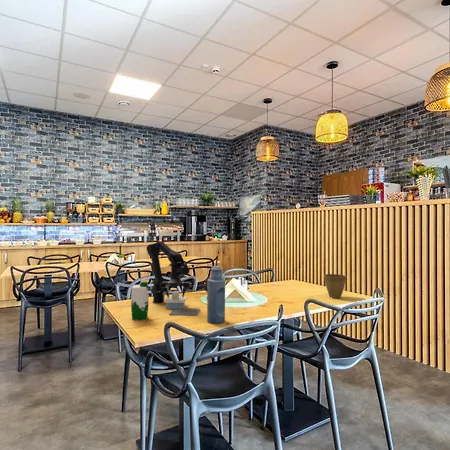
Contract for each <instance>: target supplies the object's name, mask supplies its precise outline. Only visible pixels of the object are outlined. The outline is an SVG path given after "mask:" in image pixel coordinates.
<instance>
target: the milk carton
mask: <svg viewBox="0 0 450 450" xmlns="http://www.w3.org/2000/svg"><path fill="white" fill-rule="evenodd" d="M130 301H131V302H130V303H131V305H130V307H131V308H130V309H131V311H130V312H131V320H132V321H146V319H147V318H148V312H149V285H148V281H141V282H140V283H139V284H134V285H133V286H132V287H131V298H130Z"/></svg>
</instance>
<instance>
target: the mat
mask: <svg viewBox="0 0 450 450" xmlns="http://www.w3.org/2000/svg"><path fill="white" fill-rule="evenodd" d="M199 312H200V308H198V309H197V308H195V309H193V308H180V309H171V311H170V312H169V316H188V317H189V316H193V317H197V316H198V313H199Z"/></svg>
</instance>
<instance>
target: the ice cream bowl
mask: <svg viewBox="0 0 450 450" xmlns="http://www.w3.org/2000/svg"><path fill="white" fill-rule="evenodd" d="M210 278H211V276H209V277H206V278H204V284H202V288H203V290H204V291H205V292H206V293H207V280H208V279H210Z"/></svg>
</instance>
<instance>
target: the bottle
mask: <svg viewBox="0 0 450 450" xmlns="http://www.w3.org/2000/svg"><path fill="white" fill-rule="evenodd" d="M222 272H223V270H222V267H221V265H213V266H212V267H211V268H210V279H208V280H207V292H206V294H207V296H206V299H207V301H206V303H207V305H206V308H207V312H206V320H207V321H206V322H208V323H209V324H214V325H215V324H216V325H217V324H218V323H219V324H223V323H224V322H225V321H226V316H225V315H226V279H225V278H223V273H222ZM219 324H218V325H219Z"/></svg>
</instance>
